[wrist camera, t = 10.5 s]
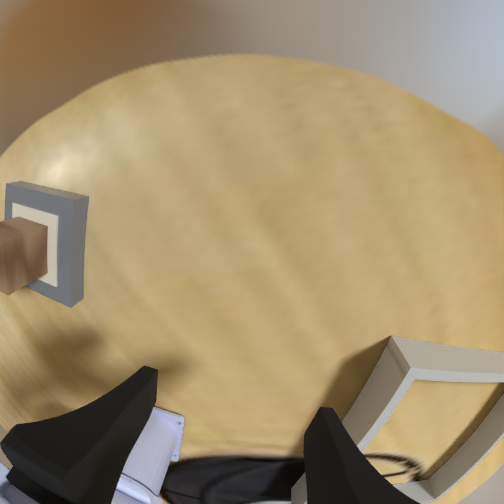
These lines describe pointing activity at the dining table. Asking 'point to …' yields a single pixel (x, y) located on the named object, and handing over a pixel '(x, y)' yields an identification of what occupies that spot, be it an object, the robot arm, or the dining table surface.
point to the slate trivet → (54, 236)
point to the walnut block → (21, 253)
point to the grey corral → (395, 387)
